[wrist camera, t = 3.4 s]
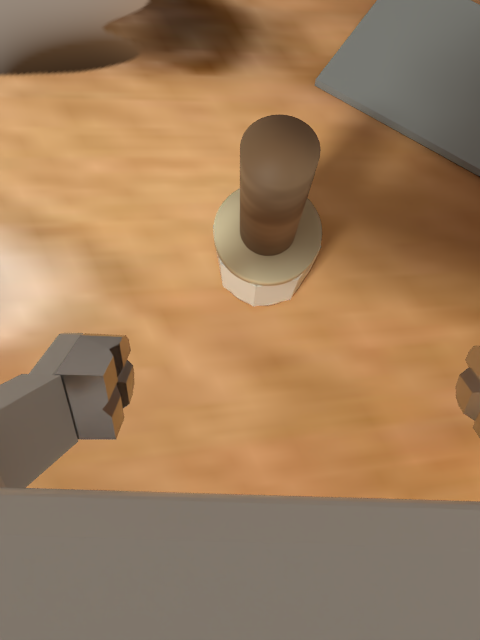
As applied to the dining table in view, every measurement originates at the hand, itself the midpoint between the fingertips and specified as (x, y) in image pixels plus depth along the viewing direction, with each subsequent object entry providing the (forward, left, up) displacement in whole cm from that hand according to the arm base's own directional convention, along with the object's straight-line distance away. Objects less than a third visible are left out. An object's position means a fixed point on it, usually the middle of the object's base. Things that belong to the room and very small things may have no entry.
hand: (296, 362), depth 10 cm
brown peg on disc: (-5, +8, -12) cm, 15 cm away
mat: (-1, +30, -16) cm, 34 cm away
